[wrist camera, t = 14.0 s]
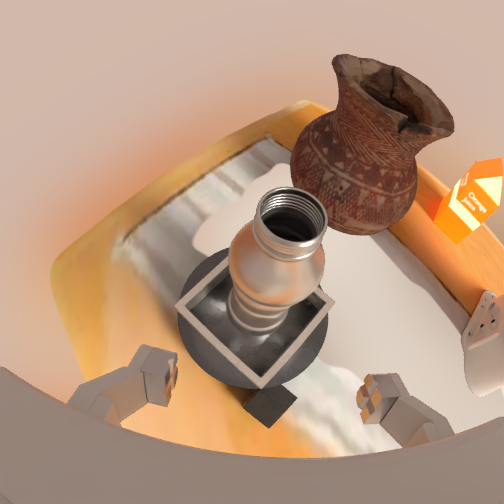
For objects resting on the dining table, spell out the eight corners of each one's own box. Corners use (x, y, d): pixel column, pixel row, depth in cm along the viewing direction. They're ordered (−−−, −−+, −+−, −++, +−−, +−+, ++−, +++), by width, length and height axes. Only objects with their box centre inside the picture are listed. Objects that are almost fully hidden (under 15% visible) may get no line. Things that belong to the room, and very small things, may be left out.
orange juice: (432, 221, 47) (488, 160, 29) (441, 200, 51) (488, 143, 33) (456, 245, 45) (516, 191, 27) (463, 222, 49) (514, 170, 31)
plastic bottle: (231, 282, 33) (238, 158, 15) (286, 291, 33) (351, 181, 15) (221, 333, 30) (211, 258, 12) (280, 343, 30) (356, 283, 12)
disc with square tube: (247, 238, 41) (252, 207, 34) (348, 323, 36) (374, 308, 29) (156, 321, 34) (139, 305, 27) (264, 423, 30) (274, 435, 22)
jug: (385, 270, 41) (485, 171, 19) (266, 226, 43) (300, 81, 21) (390, 180, 51) (446, 88, 29) (299, 143, 53) (328, 35, 31)
